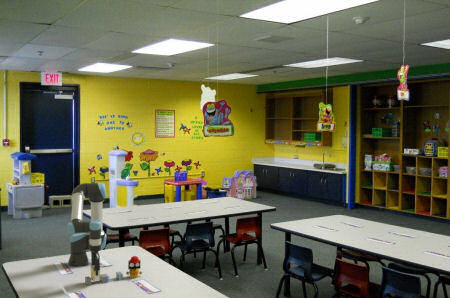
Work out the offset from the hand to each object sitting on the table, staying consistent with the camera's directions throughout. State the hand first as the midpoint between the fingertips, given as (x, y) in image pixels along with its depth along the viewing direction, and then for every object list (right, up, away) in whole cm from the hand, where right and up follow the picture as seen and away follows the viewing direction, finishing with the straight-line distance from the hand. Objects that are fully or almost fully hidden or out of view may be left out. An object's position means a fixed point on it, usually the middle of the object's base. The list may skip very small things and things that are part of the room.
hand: (95, 278), depth 302 cm
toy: (+23, -4, +16) cm, 28 cm away
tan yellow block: (0, 0, 0) cm, 0 cm away
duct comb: (+5, -4, +3) cm, 7 cm away
